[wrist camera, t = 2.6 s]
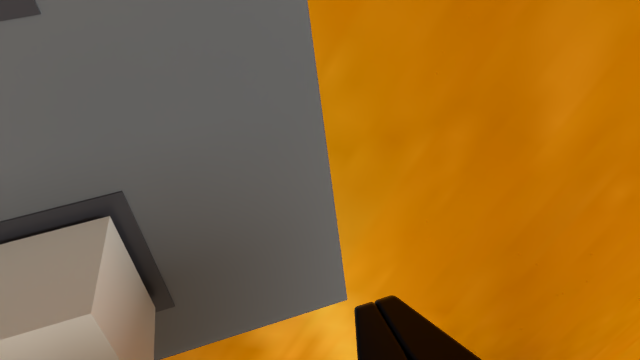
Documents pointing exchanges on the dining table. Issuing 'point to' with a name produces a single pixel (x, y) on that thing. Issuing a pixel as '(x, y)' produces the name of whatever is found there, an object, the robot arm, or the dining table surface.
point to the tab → (73, 297)
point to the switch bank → (176, 152)
